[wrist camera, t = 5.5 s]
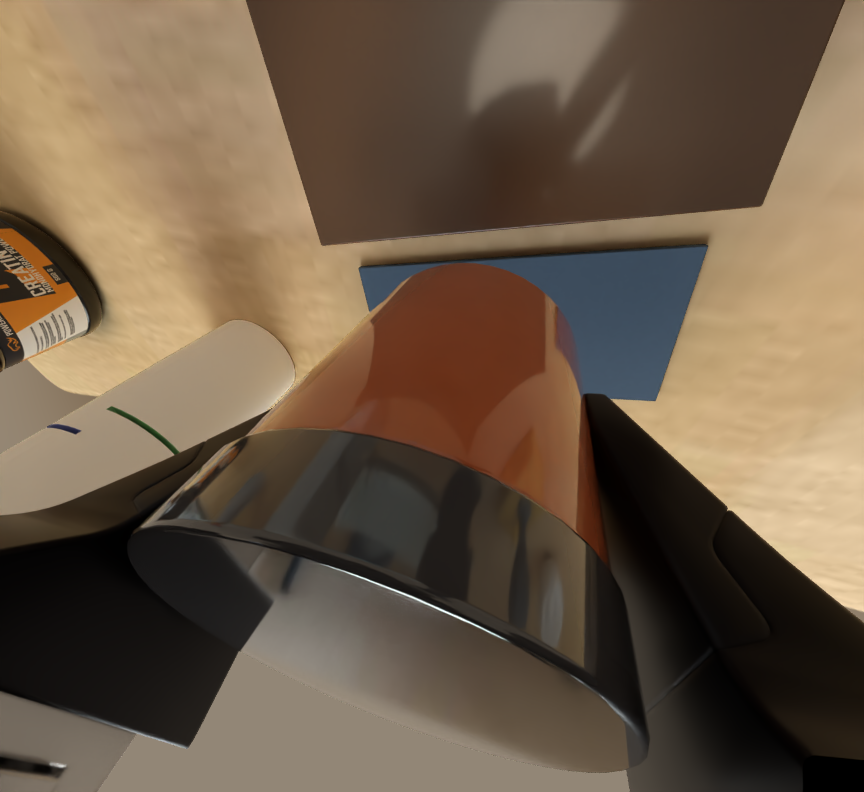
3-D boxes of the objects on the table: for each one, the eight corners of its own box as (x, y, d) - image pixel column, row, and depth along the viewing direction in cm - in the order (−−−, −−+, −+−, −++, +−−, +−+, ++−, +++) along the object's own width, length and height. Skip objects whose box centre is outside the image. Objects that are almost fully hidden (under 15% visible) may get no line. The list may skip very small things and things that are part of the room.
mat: (705, 243, 15) (708, 245, 15) (654, 397, 21) (655, 401, 20) (360, 266, 21) (358, 267, 20) (390, 384, 26) (388, 386, 26)
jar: (602, 248, 7) (824, 670, 1) (567, 454, 11) (591, 796, 5) (342, 264, 9) (-7, 479, 3) (389, 436, 12) (263, 674, 7)
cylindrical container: (205, 314, 27) (-630, 749, 8) (281, 325, 25) (-519, 896, 6) (237, 385, 31) (-244, 770, 12) (303, 398, 30) (-126, 859, 11)
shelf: (906, -356, 8) (1272, -859, 4) (722, 193, 14) (788, 215, 10) (275, -76, 13) (158, -166, 9) (352, 231, 19) (303, 254, 15)
